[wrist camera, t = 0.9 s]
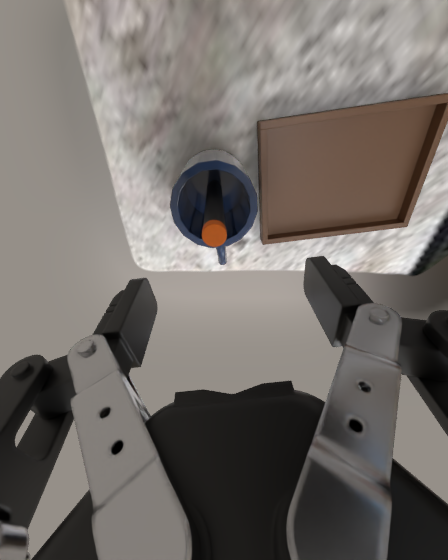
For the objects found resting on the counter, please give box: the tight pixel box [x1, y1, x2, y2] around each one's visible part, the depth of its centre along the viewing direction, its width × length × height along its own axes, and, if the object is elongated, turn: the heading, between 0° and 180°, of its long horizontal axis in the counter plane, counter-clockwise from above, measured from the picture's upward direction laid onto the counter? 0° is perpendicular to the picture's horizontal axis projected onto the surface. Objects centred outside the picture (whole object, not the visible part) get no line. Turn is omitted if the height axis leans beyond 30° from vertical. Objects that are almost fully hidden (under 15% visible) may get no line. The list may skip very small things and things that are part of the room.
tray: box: [257, 93, 448, 245], centre depth 30 cm, size 16×22×2 cm
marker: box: [202, 181, 227, 247], centre depth 25 cm, size 2×2×15 cm
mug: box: [170, 149, 258, 265], centre depth 29 cm, size 13×9×9 cm
